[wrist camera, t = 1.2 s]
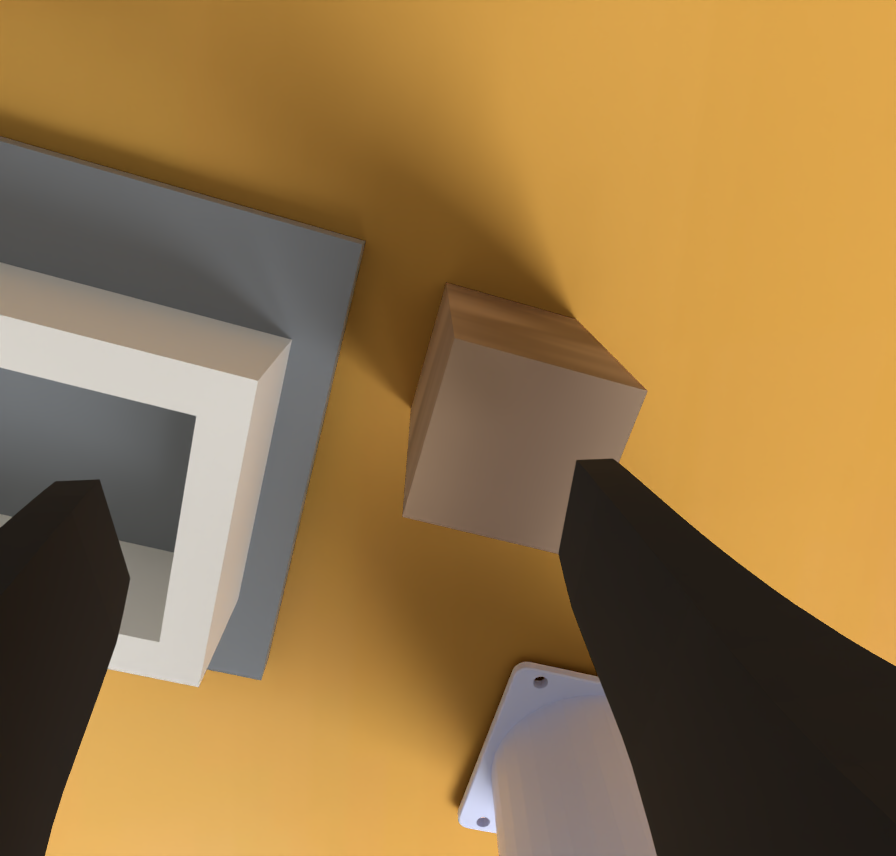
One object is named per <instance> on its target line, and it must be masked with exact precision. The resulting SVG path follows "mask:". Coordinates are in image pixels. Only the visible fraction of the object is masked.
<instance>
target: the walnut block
mask: <svg viewBox="0 0 896 856" xmlns="http://www.w3.org/2000/svg"><path fill="white" fill-rule="evenodd" d="M646 394H647V390H646V389H645V388H644V387H643V386H642V385H641V384H640V383H639V382H638V381H637V380H636V379H635V378H634V377H633V376H632V375H631V374H630V373H629V372H628V371H627V370H626V369H625V368H624V367H623V366H622V365H621V364H620V363H619V362H618V361H617V360H616V359H615V358H614V357H613V356H612V355H611V354H610V353H609V352H608V351H607V350H606V349H605V348H604V347H603V346H602V345H601V344H600V343H599V342H598V341H597V340H596V339H595V338H594V337H593V336H592V335H591V334H590V333H589V332H588V331H587V330H586V329H585V328H584V327H583V326H582V325H581V324H580V323H579V322H578V321H577V320H576V319H574V318H570V317H567V316H563V315H560V314H556V313H553V312H549V311H545V310H542V309H538V308H535V307H531V306H528V305H524V304H521V303H517V302H514V301H510V300H507V299H503V298H500V297H496V296H493V295H489V294H486V293H482V292H478V291H475V290H471V289H468V288H464V287H461V286H457V285H454V284H450V283H447V282H446V285H445V289H444V292H443V296H442V299H441V303H440V306H439V310H438V314H437V317H436V321H435V324H434V328H433V331H432V335H431V339H430V342H429V346H428V349H427V353H426V357H425V360H424V364H423V367H422V371H421V374H420V378H419V382H418V385H417V389H416V392H415V396H414V399H413V403H412V407H411V414H410V427H409V440H408V452H407V465H406V478H405V490H404V503H403V516H402V517H405V518H410V519H414V520H418V521H422V522H426V523H431V524H435V525H439V526H443V527H447V528H452V529H456V530H460V531H464V532H468V533H473V534H477V535H481V536H485V537H489V538H494V539H498V540H502V541H506V542H510V543H514V544H519V545H523V546H527V547H531V548H535V549H540V550H544V551H548V552H552V553H556V554H559V553H558V552H559V547H560V542H561V537H562V531H563V526H564V521H565V516H566V511H567V506H568V500H569V495H570V490H571V485H572V480H573V474H574V469H575V464H576V460H587V459H611V458H613V459H614V460H616V461H617V462H618V463H619V460H620V458H621V455H622V453H623V450H624V448H625V445H626V443H627V441H628V438H629V436H630V433H631V431H632V428H633V426H634V423H635V421H636V418H637V416H638V413H639V411H640V408H641V406H642V403H643V401H644V399H645V396H646Z"/></svg>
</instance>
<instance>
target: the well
mask: <svg viewBox="0 0 896 856" xmlns="http://www.w3.org/2000/svg"><path fill="white" fill-rule="evenodd" d="M365 242H366V241H364V240H360V239H357V238H353V237H350V236H346V235H343V234H339V233H336V232H332V231H329V230H325V229H322V228H318V227H315V226H311V225H308V224H304V223H301V222H297V221H294V220H290V219H287V218H283V217H280V216H276V215H273V214H269V213H266V212H263V211H259V210H256V209H252V208H249V207H245V206H242V205H238V204H235V203H231V202H228V201H224V200H221V199H217V198H214V197H210V196H207V195H203V194H200V193H196V192H193V191H189V190H186V189H182V188H179V187H175V186H172V185H168V184H165V183H161V182H158V181H154V180H151V179H148V178H144V177H141V176H137V175H134V174H130V173H127V172H123V171H120V170H116V169H113V168H109V167H106V166H102V165H99V164H95V163H92V162H88V161H85V160H81V159H78V158H74V157H71V156H67V155H64V154H60V153H57V152H53V151H50V150H46V149H43V148H39V147H36V146H32V145H29V144H26V143H22V142H19V141H15V140H12V139H8V138H5V137H1V136H0V527H1V526H3V525H4V524H5V523H6V522H7V521H8V520H10V519H11V518H12V517H13V516H14V515H15V514H16V513H18V512H19V511H20V510H21V509H22V508H23V507H25V506H26V505H27V504H28V503H29V502H30V501H32V500H33V499H34V498H35V497H36V496H38V495H39V494H40V493H41V492H42V491H44V490H45V489H46V488H47V487H49V486H50V485H51V484H53V483H54V482H55V481H72V480H96V479H100V482H101V485H102V488H103V491H104V495H105V498H106V501H107V504H108V508H109V511H110V514H111V517H112V520H113V524H114V527H115V530H116V533H117V537H118V540H119V543H120V546H121V550H122V553H123V556H124V559H125V562H126V566H127V569H128V572H129V575H130V583H129V588H128V593H127V598H126V603H125V608H124V613H123V617H122V622H121V626H120V630H119V635H118V639H117V643H116V646H115V649H114V652H113V655H112V657H111V660H110V663H109V666H108V669H111V670H116V671H121V672H126V673H131V674H136V675H141V676H146V677H151V678H156V679H161V680H166V681H171V682H176V683H181V684H186V685H191V686H196V687H199V685H200V683H201V681H202V679H203V677H204V674H205V672H206V670H207V669H208V670H213V671H218V672H223V673H228V674H233V675H238V676H242V677H247V678H252V679H257V680H261V679H262V676H263V673H264V670H265V667H266V664H267V661H268V657H269V653H270V648H271V644H272V640H273V636H274V631H275V627H276V623H277V618H278V614H279V610H280V606H281V601H282V597H283V593H284V588H285V584H286V580H287V576H288V571H289V567H290V563H291V559H292V554H293V550H294V546H295V541H296V537H297V533H298V529H299V524H300V520H301V516H302V511H303V507H304V503H305V499H306V494H307V490H308V486H309V481H310V477H311V473H312V469H313V464H314V460H315V456H316V452H317V447H318V443H319V439H320V434H321V430H322V426H323V422H324V417H325V413H326V409H327V404H328V400H329V396H330V392H331V387H332V383H333V379H334V374H335V370H336V366H337V362H338V357H339V353H340V349H341V344H342V340H343V336H344V332H345V327H346V323H347V319H348V315H349V310H350V306H351V302H352V297H353V293H354V289H355V285H356V280H357V276H358V272H359V267H360V263H361V259H362V255H363V250H364V246H365Z"/></svg>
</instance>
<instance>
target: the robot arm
mask: <svg viewBox="0 0 896 856" xmlns="http://www.w3.org/2000/svg"><path fill="white" fill-rule="evenodd" d="M558 553H559V558H560V562H561V566H562V570H563V575H564V579H565V583H566V587H567V591H568V595H569V599H570V602H571V606H572V610H573V612H574V615H575V618H576V620H577V623H578V626H579V628H580V631H581V634H582V636H583V639H584V641H585V644H586V647H587V649H588V652H589V654H590V657H591V659H592V662H593V665H594V667H595V670H596V672H597V675H598V677H597V676H593V675H588V674H584V673H579V672H574V671H570V670H565V669H561V668H556V667H551V666H547V665H542V664H537V663H533V662H522V663H519V664H518V665H516V666H515V667H514V669H513V670H512V673H511V676H510V678H509V681H508V683H507V686H506V688H505V691H504V694H503V696H502V699H501V701H500V704H499V706H498V709H497V711H496V714H495V717H494V719H493V722H492V724H491V727H490V729H489V732H488V734H487V737H486V740H485V742H484V745H483V747H482V750H481V752H480V755H479V758H478V760H477V763H476V765H475V768H474V770H473V773H472V775H471V778H470V781H469V783H468V786H467V788H466V791H465V793H464V796H463V799H462V801H461V804H460V806H459V809H458V821H459V823H460V824H461V825H462V826H463V827H466V828H470V829H475V830H481V831H486V832H492V833H497V842H498V852H499V856H896V666H894V665H893V664H891V663H889V662H887V661H885V660H884V659H882V658H880V657H878V656H877V655H875V654H873V653H871V652H870V651H868V650H866V649H865V648H863V647H861V646H860V645H858V644H856V643H855V642H853V641H851V640H850V639H848V638H846V637H845V636H843V635H841V634H840V633H838V632H837V631H835V630H834V629H832V628H831V627H829V626H828V625H826V624H824V623H823V622H821V621H820V620H818V619H817V618H815V617H814V616H812V615H811V614H809V613H808V612H806V611H804V610H803V609H801V608H800V607H798V606H797V605H795V604H794V603H792V602H791V601H790V600H788V599H787V598H785V597H784V596H782V595H781V594H779V593H778V592H777V591H775V590H774V589H772V588H771V587H770V586H768V585H767V584H766V583H764V582H763V581H762V580H760V579H759V578H758V577H756V576H755V575H754V574H752V573H751V572H750V571H748V570H747V569H746V568H744V567H743V566H741V565H740V564H739V563H737V562H736V561H735V560H734V559H732V558H731V557H730V556H729V555H727V554H726V553H725V552H723V551H722V550H721V549H720V548H718V547H717V546H716V545H715V544H713V543H712V542H711V541H710V540H708V539H707V538H706V537H705V536H704V535H702V534H701V533H700V532H699V531H698V530H696V529H695V528H694V527H693V526H692V525H690V524H689V523H688V522H687V521H686V520H684V519H683V518H682V517H681V516H680V515H679V514H677V513H676V512H675V511H674V510H673V509H671V508H670V507H669V506H668V505H667V504H666V503H665V502H663V501H662V500H661V499H660V498H659V497H658V496H656V495H655V494H654V493H653V492H652V491H651V490H650V489H648V488H647V487H646V486H645V485H644V484H643V483H642V482H640V481H639V480H638V479H637V478H636V477H635V476H633V475H632V474H631V473H630V472H629V471H628V470H626V469H625V468H624V467H623V466H622V465H620V464H619V463H618V462H617V461H616V460H614V459H613V458H611V459H587V460H576V464H575V469H574V474H573V480H572V485H571V490H570V495H569V500H568V506H567V511H566V516H565V521H564V526H563V531H562V537H561V542H560V547H559V552H558ZM129 583H130V575H129V572H128V569H127V566H126V562H125V559H124V556H123V553H122V550H121V546H120V543H119V540H118V537H117V533H116V530H115V527H114V524H113V520H112V517H111V514H110V511H109V508H108V504H107V501H106V498H105V495H104V491H103V488H102V485H101V482H100V479H96V480H72V481H55V482H54V483H53V484H51V485H50V486H49V487H47V488H46V489H45V490H44V491H42V492H41V493H40V494H39V495H38V496H36V497H35V498H34V499H33V500H32V501H30V502H29V503H28V504H27V505H26V506H25V507H23V508H22V509H21V510H20V511H19V512H18V513H16V514H15V515H14V516H13V517H12V518H11V519H10V520H8V521H7V522H6V523H5V524H4V525H3V526H1V527H0V856H45V853H46V849H47V845H48V841H49V837H50V833H51V829H52V826H53V822H54V819H55V816H56V813H57V810H58V807H59V803H60V800H61V797H62V794H63V791H64V788H65V785H66V782H67V780H68V777H69V774H70V771H71V769H72V766H73V763H74V760H75V758H76V755H77V752H78V749H79V747H80V744H81V741H82V738H83V736H84V733H85V730H86V727H87V724H88V722H89V719H90V716H91V713H92V711H93V708H94V705H95V702H96V700H97V697H98V694H99V691H100V689H101V686H102V683H103V680H104V677H105V674H106V672H107V669H108V666H109V663H110V660H111V657H112V655H113V652H114V649H115V646H116V643H117V639H118V635H119V630H120V626H121V622H122V617H123V613H124V608H125V603H126V598H127V593H128V588H129ZM537 677H545V678H544V679H543V680H541V681H536V680H535V678H537ZM481 817H485V818H481Z"/></svg>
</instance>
